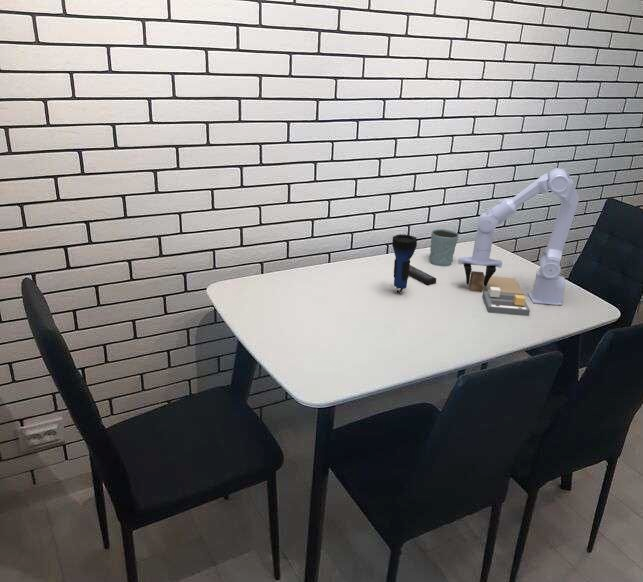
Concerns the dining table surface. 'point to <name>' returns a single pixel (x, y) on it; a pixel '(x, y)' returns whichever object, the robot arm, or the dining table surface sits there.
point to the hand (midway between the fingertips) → (476, 284)
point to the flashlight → (402, 258)
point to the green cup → (442, 247)
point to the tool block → (476, 281)
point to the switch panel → (504, 304)
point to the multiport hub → (421, 276)
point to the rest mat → (504, 285)
